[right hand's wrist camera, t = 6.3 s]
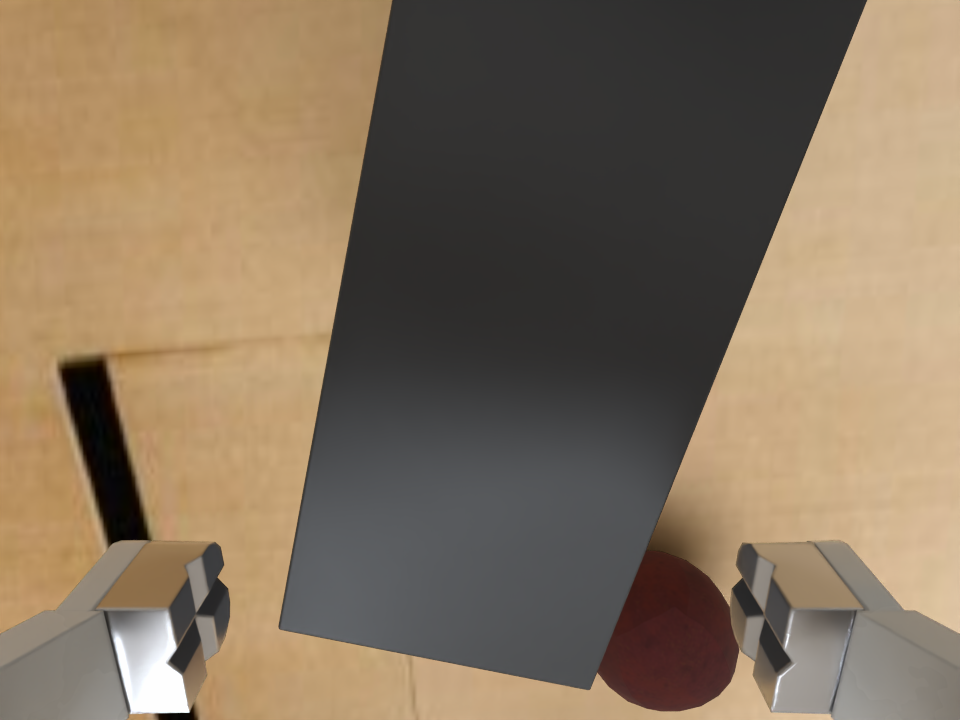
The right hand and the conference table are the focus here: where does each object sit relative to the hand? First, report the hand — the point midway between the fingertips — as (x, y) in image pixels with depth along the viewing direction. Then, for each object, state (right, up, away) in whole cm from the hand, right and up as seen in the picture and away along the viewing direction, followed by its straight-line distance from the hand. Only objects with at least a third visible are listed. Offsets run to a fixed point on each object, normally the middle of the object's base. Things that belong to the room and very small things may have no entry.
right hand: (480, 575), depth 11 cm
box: (+2, +12, +9) cm, 15 cm away
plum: (+9, -9, +26) cm, 29 cm away
